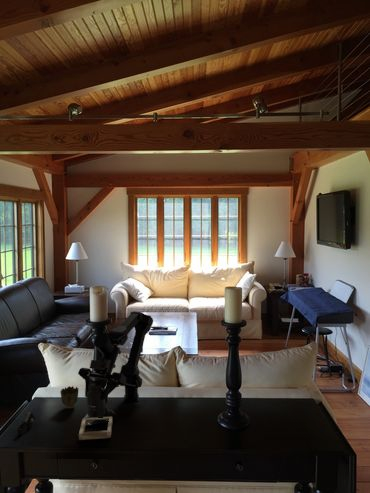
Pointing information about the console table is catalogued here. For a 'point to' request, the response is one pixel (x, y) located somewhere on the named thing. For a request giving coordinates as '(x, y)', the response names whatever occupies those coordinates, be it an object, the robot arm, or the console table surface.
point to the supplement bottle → (95, 400)
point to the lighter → (26, 423)
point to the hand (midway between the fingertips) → (94, 398)
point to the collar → (95, 434)
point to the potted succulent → (69, 396)
